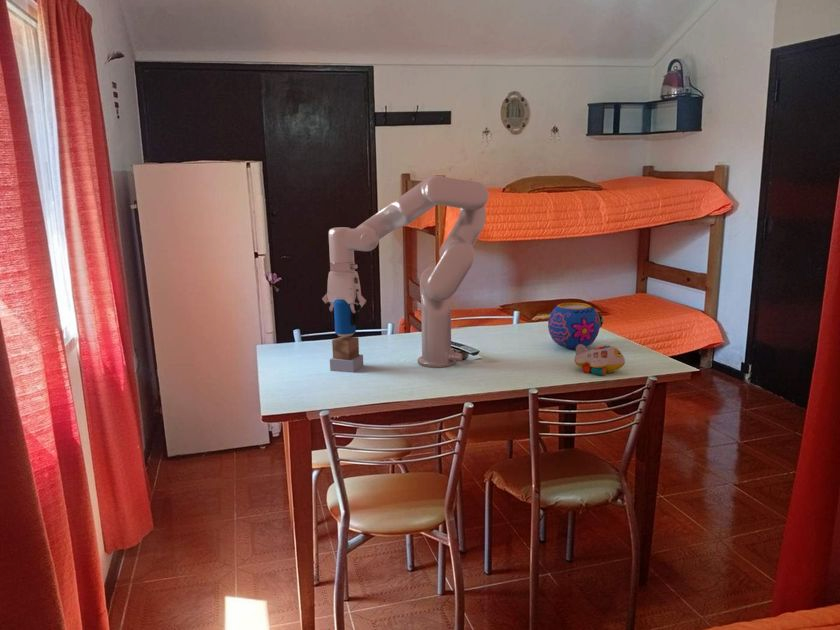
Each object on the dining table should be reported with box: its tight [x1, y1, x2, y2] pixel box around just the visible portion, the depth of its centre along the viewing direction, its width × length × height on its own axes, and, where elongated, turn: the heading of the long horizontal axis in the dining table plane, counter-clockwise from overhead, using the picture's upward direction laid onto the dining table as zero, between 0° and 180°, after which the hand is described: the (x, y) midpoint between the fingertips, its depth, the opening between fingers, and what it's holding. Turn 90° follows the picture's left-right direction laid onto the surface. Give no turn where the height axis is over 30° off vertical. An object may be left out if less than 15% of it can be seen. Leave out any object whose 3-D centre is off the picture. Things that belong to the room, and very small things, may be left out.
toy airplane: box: [573, 344, 626, 376], centre depth 205 cm, size 13×9×15 cm
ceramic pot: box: [547, 302, 604, 350], centre depth 233 cm, size 18×18×15 cm
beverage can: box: [334, 298, 357, 337], centre depth 211 cm, size 6×6×12 cm
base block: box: [329, 353, 364, 373], centre depth 215 cm, size 8×8×4 cm
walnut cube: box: [331, 336, 360, 360], centre depth 214 cm, size 6×6×6 cm
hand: (345, 323), depth 212 cm, fingers closed on beverage can, 6 cm apart
